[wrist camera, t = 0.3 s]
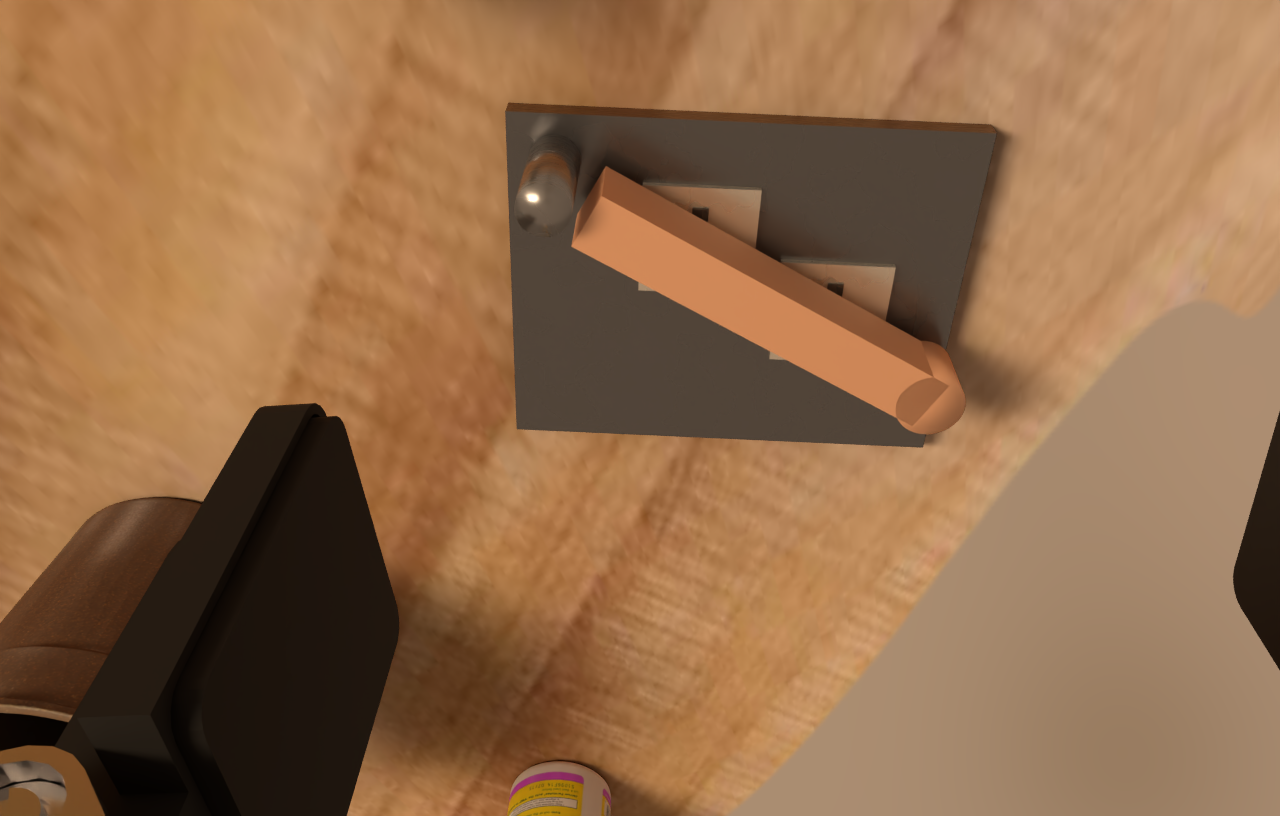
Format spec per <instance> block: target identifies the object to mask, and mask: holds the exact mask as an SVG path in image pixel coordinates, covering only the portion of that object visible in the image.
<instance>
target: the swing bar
mask: <svg viewBox="0 0 1280 816" xmlns="http://www.w3.org/2000/svg"><path fill="white" fill-rule="evenodd" d="M571 247H573V248H575V249H577V250H579V251H581V252H583V253H584V254H586V255H588V256H590V257H592V258H594V259H596V260H598V261H600V262H602V263H603V264H605V265H607V266H609V267H611V268H613V269H615V270H617V271H619V272H621V273H622V274H624V275H626V276H628V277H630V278H632V279H634V280H636V281H638V282H639V283H641V284H643V285H645V286H647V287H649V288H651V289H653V290H655V291H657V292H658V293H660V294H662V295H664V296H666V297H668V298H670V299H672V300H674V301H676V302H677V303H679V304H681V305H683V306H685V307H687V308H689V309H691V310H693V311H694V312H696V313H698V314H700V315H702V316H704V317H706V318H708V319H710V320H712V321H713V322H715V323H717V324H719V325H721V326H723V327H725V328H727V329H729V330H731V331H732V332H734V333H736V334H738V335H740V336H742V337H744V338H746V339H748V340H749V341H751V342H753V343H755V344H757V345H759V346H761V347H763V348H765V349H767V350H768V351H770V352H772V353H774V354H776V355H778V356H780V357H782V358H784V359H786V360H787V361H789V362H791V363H793V364H795V365H797V366H799V367H801V368H803V369H805V370H806V371H808V372H810V373H812V374H814V375H816V376H818V377H820V378H822V379H823V380H825V381H827V382H829V383H831V384H833V385H835V386H837V387H839V388H841V389H842V390H844V391H846V392H848V393H850V394H852V395H854V396H856V397H858V398H860V399H861V400H863V401H865V402H867V403H869V404H871V405H873V406H875V407H877V408H878V409H880V410H882V411H884V412H886V413H888V414H890V415H892V416H894V417H896V418H897V419H898V421H899V422H900V424H901V425H902V426H903V427H905V428H906V429H908V430H909V431H912V432H914V433H918V434H934V433H938V432H941V431H944V430H946V429H948V428H950V427H951V426H953V425H954V424H955V423H956V422H957V421H958V420H959V419H960V418H961V416H962V414H963V412H964V410H965V406H966V398H965V395H964V392H963V390H962V387H961V384H960V382H959V379H958V377H957V374H956V372H955V369H954V367H953V364H952V362H951V359H950V357H949V355H948V353H947V351H946V350H945V349H944V348H943V347H941V346H940V345H938V344H936V343H933V342H929V341H920V340H918V339H916V338H915V337H913V336H911V335H909V334H907V333H906V332H904V331H902V330H900V329H898V328H897V327H895V326H893V325H891V324H889V323H888V322H886V321H884V320H882V319H880V318H879V317H877V316H875V315H873V314H871V313H870V312H868V311H866V310H864V309H862V308H861V307H859V306H857V305H855V304H853V303H852V302H850V301H848V300H846V299H844V298H843V297H841V296H839V295H837V294H835V293H834V292H832V291H830V290H828V289H826V288H825V287H823V286H821V285H819V284H817V283H816V282H814V281H812V280H810V279H808V278H807V277H805V276H803V275H801V274H799V273H798V272H796V271H794V270H792V269H790V268H789V267H787V266H785V265H783V264H781V263H780V262H778V261H776V260H774V259H772V258H771V257H769V256H767V255H765V254H763V253H762V252H760V251H758V250H756V249H754V248H753V247H751V246H749V245H747V244H745V243H744V242H742V241H740V240H738V239H736V238H735V237H733V236H731V235H729V234H727V233H726V232H724V231H722V230H720V229H718V228H717V227H715V226H713V225H711V224H709V223H708V222H706V221H704V220H702V219H700V218H699V217H697V216H695V215H693V214H691V213H690V212H688V211H686V210H684V209H682V208H681V207H679V206H677V205H675V204H673V203H672V202H670V201H668V200H666V199H664V198H663V197H661V196H659V195H657V194H655V193H654V192H652V191H650V190H648V189H646V188H645V187H643V186H641V185H639V184H637V183H636V182H634V181H632V180H630V179H628V178H627V177H625V176H623V175H621V174H619V173H618V172H616V171H614V170H612V169H610V168H609V167H607V166H606V167H605V168H604V170H603V172H602V173H601V175H600V177H599V178H598V180H597V182H596V184H595V185H594V187H593V189H592V190H591V192H590V194H589V195H588V197H587V199H586V200H585V202H584V204H583V205H582V207H581V209H580V210H579V212H578V214H577V218H576V223H575V229H574V235H573V240H572V246H571Z"/></svg>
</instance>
